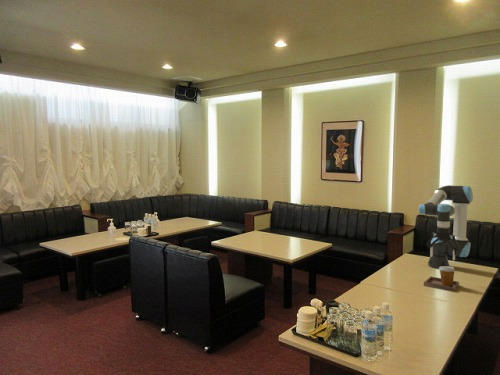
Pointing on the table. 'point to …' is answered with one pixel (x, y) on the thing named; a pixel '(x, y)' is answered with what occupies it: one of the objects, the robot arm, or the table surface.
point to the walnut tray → (440, 284)
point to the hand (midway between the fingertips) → (442, 258)
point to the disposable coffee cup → (447, 275)
